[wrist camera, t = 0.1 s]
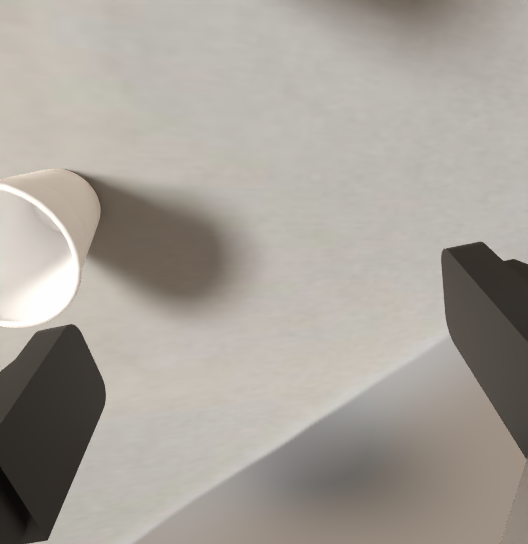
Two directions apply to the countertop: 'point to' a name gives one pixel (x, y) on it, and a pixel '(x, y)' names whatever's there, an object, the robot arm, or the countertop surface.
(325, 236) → the countertop surface
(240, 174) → the countertop surface
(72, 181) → the cup
